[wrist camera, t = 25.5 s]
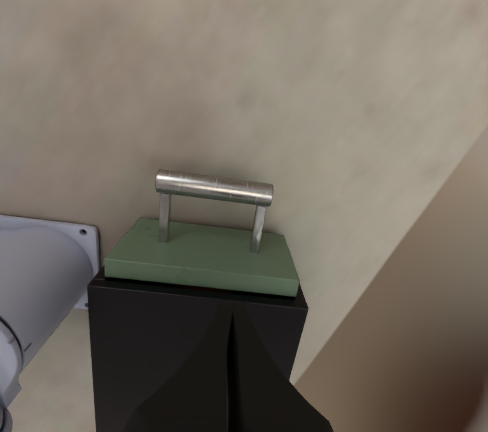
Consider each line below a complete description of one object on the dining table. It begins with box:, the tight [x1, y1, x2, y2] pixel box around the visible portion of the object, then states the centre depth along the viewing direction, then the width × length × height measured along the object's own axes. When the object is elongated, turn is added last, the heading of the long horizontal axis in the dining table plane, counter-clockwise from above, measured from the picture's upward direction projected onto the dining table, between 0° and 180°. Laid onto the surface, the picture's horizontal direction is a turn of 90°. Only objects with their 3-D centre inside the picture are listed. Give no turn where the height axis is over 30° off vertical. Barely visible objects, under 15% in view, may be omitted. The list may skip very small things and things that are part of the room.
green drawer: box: [104, 169, 300, 299], centre depth 21 cm, size 16×11×6 cm
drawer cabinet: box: [87, 266, 308, 432], centre depth 22 cm, size 12×12×8 cm
